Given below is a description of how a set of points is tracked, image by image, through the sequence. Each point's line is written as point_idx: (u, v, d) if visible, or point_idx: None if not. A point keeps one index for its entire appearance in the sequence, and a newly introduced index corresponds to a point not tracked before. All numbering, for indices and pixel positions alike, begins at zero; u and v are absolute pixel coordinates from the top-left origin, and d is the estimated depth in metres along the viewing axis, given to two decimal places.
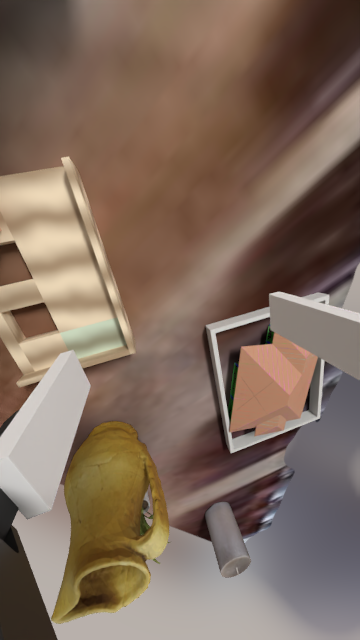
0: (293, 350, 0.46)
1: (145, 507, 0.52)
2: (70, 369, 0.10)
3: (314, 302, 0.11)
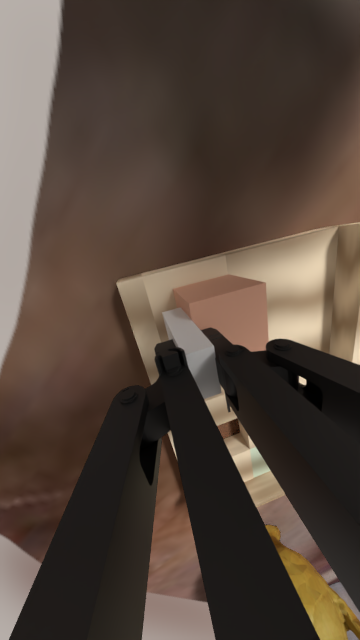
0: None
1: None
2: None
3: (189, 320, 0.12)
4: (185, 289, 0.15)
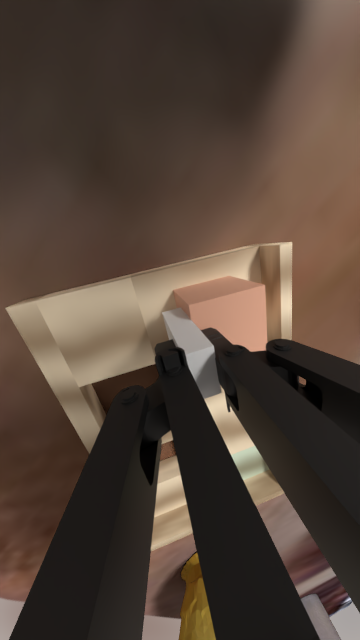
0: None
1: None
2: None
3: (189, 320, 0.12)
4: (185, 290, 0.15)
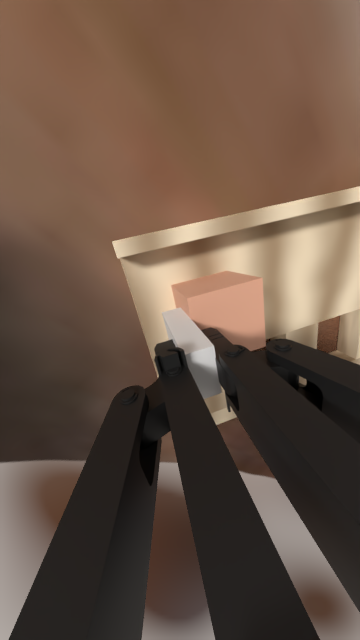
0: None
1: None
2: None
3: (189, 320, 0.12)
4: None
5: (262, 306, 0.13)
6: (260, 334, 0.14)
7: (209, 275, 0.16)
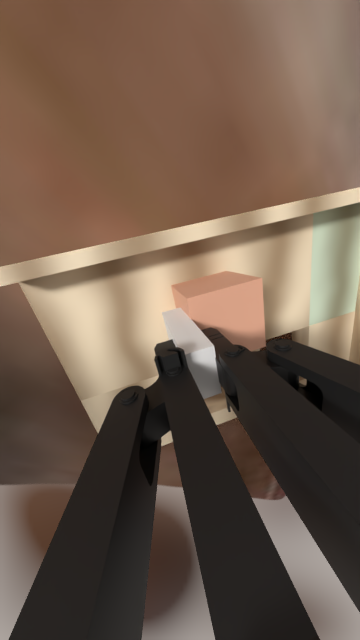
0: None
1: None
2: None
3: (189, 320, 0.12)
4: None
5: (262, 306, 0.13)
6: (260, 334, 0.14)
7: (209, 275, 0.16)
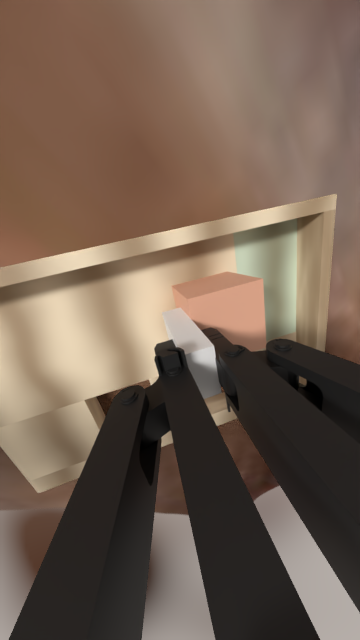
0: None
1: None
2: None
3: (189, 320, 0.12)
4: None
5: (263, 307, 0.13)
6: (260, 335, 0.14)
7: (209, 276, 0.16)
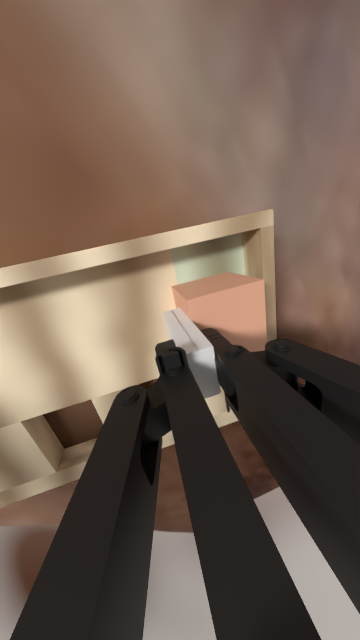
0: None
1: None
2: None
3: (188, 320, 0.12)
4: None
5: (263, 308, 0.13)
6: (261, 336, 0.13)
7: (210, 276, 0.16)
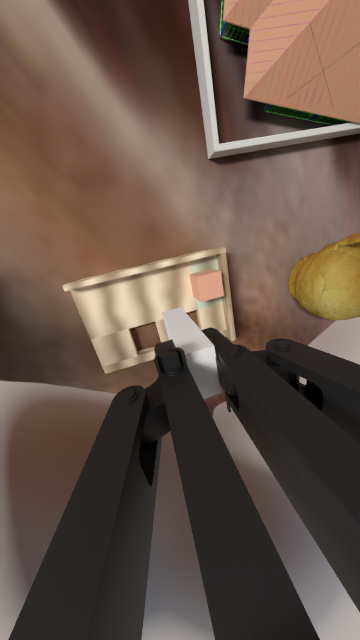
0: None
1: None
2: None
3: (189, 320, 0.12)
4: (194, 294, 0.42)
5: (221, 280, 0.38)
6: (221, 290, 0.39)
7: (204, 270, 0.42)
